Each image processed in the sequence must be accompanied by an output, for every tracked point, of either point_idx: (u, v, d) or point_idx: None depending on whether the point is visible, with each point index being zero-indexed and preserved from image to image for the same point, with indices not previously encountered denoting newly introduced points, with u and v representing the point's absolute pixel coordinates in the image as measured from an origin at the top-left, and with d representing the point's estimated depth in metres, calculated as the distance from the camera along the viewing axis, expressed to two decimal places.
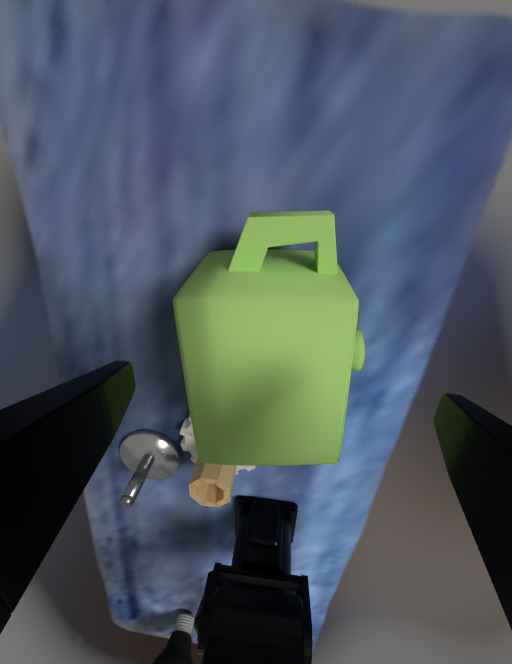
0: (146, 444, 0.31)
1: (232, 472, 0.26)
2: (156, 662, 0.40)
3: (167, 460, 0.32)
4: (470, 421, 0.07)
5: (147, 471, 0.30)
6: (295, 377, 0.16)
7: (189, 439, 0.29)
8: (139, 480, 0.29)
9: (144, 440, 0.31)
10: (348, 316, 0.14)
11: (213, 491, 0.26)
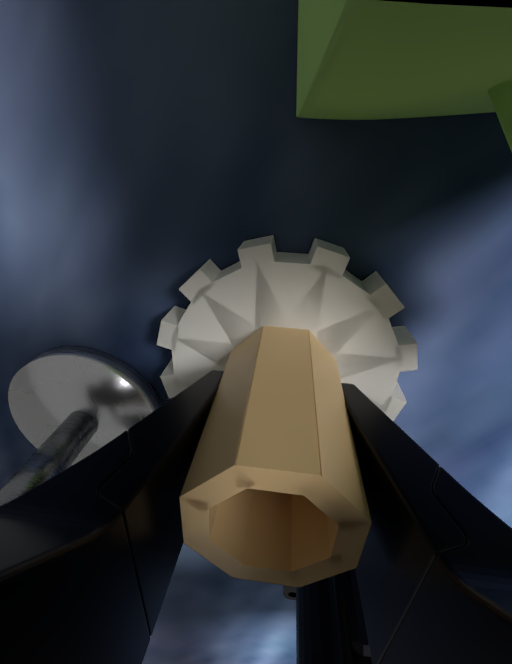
0: (71, 382, 0.12)
1: (352, 446, 0.07)
2: None
3: None
4: None
5: (70, 454, 0.11)
6: None
7: (185, 360, 0.10)
8: (38, 478, 0.10)
9: (65, 372, 0.12)
10: None
11: (273, 519, 0.07)
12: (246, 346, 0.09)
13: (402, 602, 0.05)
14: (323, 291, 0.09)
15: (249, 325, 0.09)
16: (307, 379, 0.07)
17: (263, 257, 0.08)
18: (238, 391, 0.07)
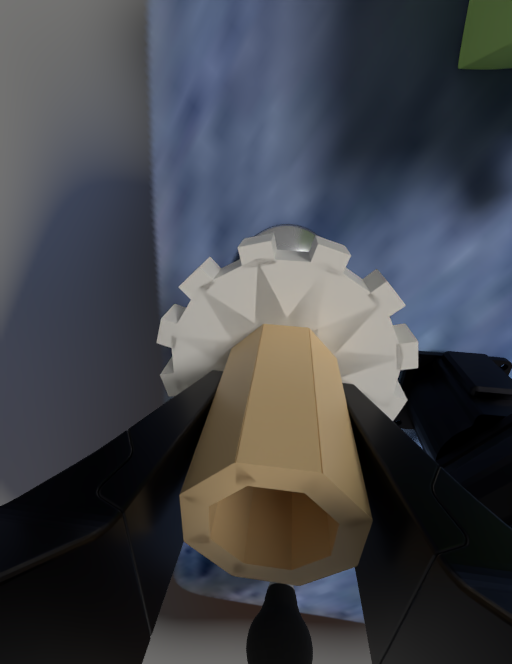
0: (286, 244, 0.19)
1: (353, 444, 0.06)
2: (258, 622, 0.28)
3: None
4: None
5: None
6: None
7: (185, 359, 0.10)
8: None
9: (285, 237, 0.19)
10: None
11: (273, 517, 0.07)
12: (246, 344, 0.09)
13: (402, 602, 0.05)
14: (323, 289, 0.09)
15: (249, 323, 0.09)
16: (308, 376, 0.07)
17: (263, 255, 0.08)
18: (238, 389, 0.07)
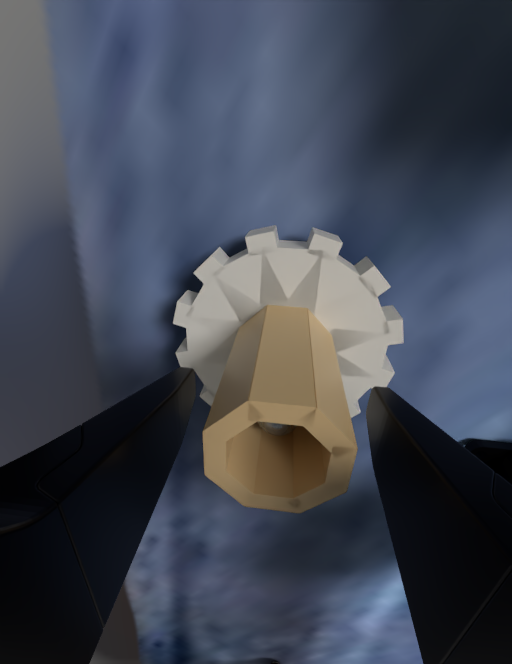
0: None
1: (344, 397, 0.08)
2: None
3: None
4: (387, 412, 0.08)
5: None
6: None
7: (198, 338, 0.12)
8: None
9: None
10: None
11: (278, 462, 0.08)
12: (253, 322, 0.10)
13: (467, 612, 0.05)
14: (319, 273, 0.10)
15: (255, 304, 0.11)
16: (306, 344, 0.08)
17: (267, 243, 0.10)
18: (247, 354, 0.08)
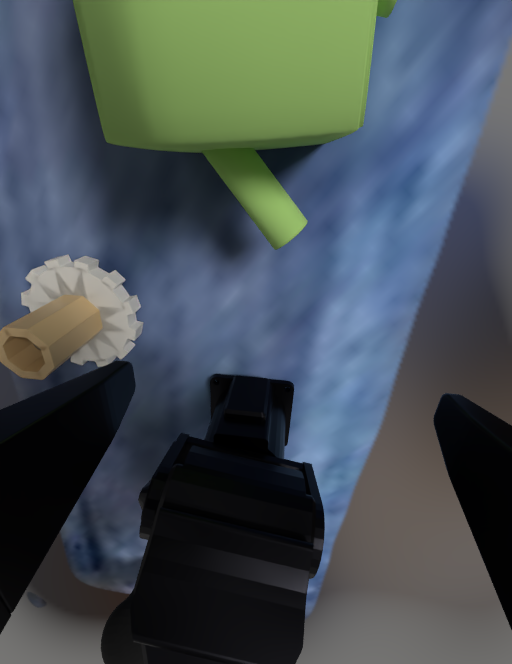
0: None
1: (65, 332, 0.18)
2: (115, 611, 0.32)
3: None
4: (470, 421, 0.07)
5: None
6: None
7: None
8: None
9: None
10: None
11: (42, 362, 0.19)
12: None
13: None
14: (83, 279, 0.21)
15: (58, 294, 0.21)
16: (56, 310, 0.19)
17: (55, 264, 0.20)
18: None
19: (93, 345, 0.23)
